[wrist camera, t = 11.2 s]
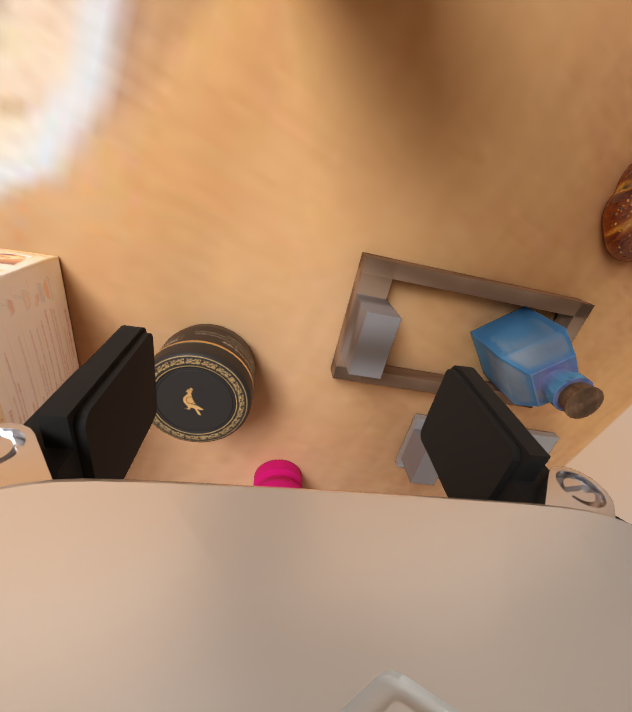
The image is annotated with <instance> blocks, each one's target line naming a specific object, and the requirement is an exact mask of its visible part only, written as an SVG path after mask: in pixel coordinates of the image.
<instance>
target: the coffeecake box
mask: <svg viewBox="0 0 632 712" xmlns="http://www.w3.org/2000/svg"><path fill="white" fill-rule="evenodd" d="M78 368H79V364H78V359H77V353H76V348H75V343H74V337H73V332H72V327H71V321H70V316H69V311H68V306H67V301H66V295H65V290H64V285H63V280H62V274H61V269H60V264H59V258H58V256H52V255H45V254H38V253H31V252H23V251H16V250H8V249H2V248H0V424H2V423H15V424H22V425H23V424H24V423H25V422H26V421H27V420H28V419H29V418H30V417H31V416H32V415H33V414H34V413H35V412H36V411H37V410H38V409H39V408H40V407H41V406H42V405H43V404H44V403H45V402H46V401H47V400H48V399H49V398H50V396H51V395H52V394H53V393H54V392H55V391H56V390H57V389H58V388H59V387H60V386H61V385H62V384H63V383H64V382H65V381H66V380H67V379H68V378H69V377H70V376H71V375H72V374H73V373H74V372H75V371H76V370H77V369H78Z"/></svg>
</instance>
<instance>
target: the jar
mask: <svg viewBox="0 0 632 712" xmlns="http://www.w3.org/2000/svg"><path fill="white" fill-rule="evenodd" d="M154 362H155V378H156V394H157V412H156V416H155V418H154V420H153V422H152V423H153V424H154V425H155V426H156V427H157V428H159V429H160V430H161V431H163V432H165V433H166V434H168V435H170V436H172V437H175V438H178V439H181V440H185V441H191V442H210V441H215V440H219V439H222V438H224V437H226V436H228V435H230V434H232V433H233V432H235V431H236V430H237V429H238V428H239V427H240V426H241V425H242V424H243V423H244V421H245V420H246V418H247V416H248V414H249V411H250V408H251V404H252V400H253V394H254V382H255V374H256V369H255V362H254V359H253V356H252V353H251V351H250V349H249V347H248V346H247V344H246V343H245V342H244V340H243V339H242V338H241V337H239V336H238V335H237V334H236V333H234V332H233V331H231V330H229V329H227V328H224V327H221V326H218V325H212V324H199V325H194V326H191V327H188V328H185V329H183V330H181V331H179V332H177V333H176V334H174V335H173V336H172V337H171V338H169V339H168V341H167V342H166V343H165V344H164V345H163V347H162V348H161V350H160V351H159V352H158V353H157V354H156V355H155V356H154Z"/></svg>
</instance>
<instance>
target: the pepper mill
mask: <svg viewBox="0 0 632 712" xmlns="http://www.w3.org/2000/svg"><path fill="white" fill-rule="evenodd" d="M254 486H266V487H285V488H302V476H301V472H300V470H299V468H298V467H297V466H296V465H295V464H293V463H291V462H289V461H285V460H272V461H268V462H266V463H264V464H263V465H261V466H260V467H259V468H258V469H257V471H256V472H255V476H254Z"/></svg>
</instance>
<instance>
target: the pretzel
mask: <svg viewBox="0 0 632 712" xmlns="http://www.w3.org/2000/svg"><path fill="white" fill-rule="evenodd" d="M603 231H604V242H605V246H606V248H607V250H608V251H609V253H610V254H611V255H612V257H614V258H616V259H618V260H621V261H632V164H631V165H630V166H629V167H628V169H627V170H626V171H625V173H624V174H623V176H622V178H621V180H620V181H619V183H618V187H617V189H616V191H615V194H614V195H613V196H612V197H611V198H610V200H609V201H608V202H607V205H606V208H605V211H604V214H603Z"/></svg>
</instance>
